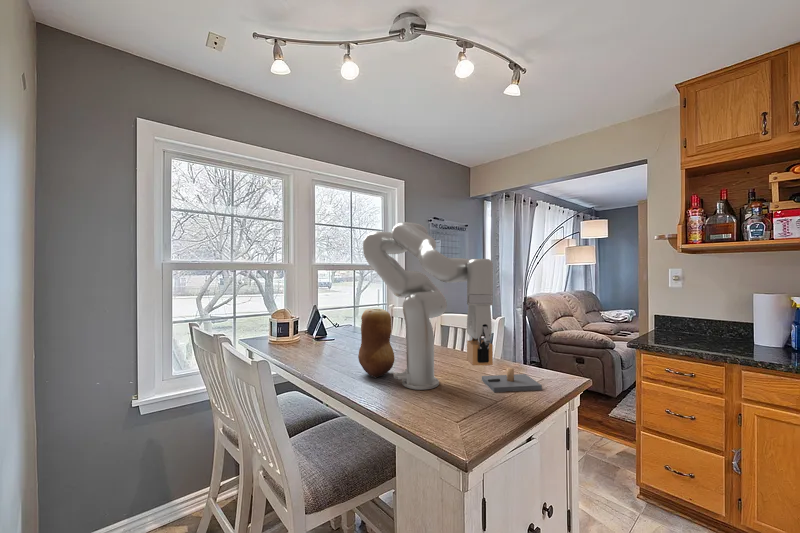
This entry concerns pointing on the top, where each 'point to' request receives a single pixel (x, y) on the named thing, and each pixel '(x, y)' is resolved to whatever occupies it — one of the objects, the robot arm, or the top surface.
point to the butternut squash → (376, 342)
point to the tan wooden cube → (473, 353)
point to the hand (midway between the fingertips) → (479, 358)
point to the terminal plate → (511, 382)
